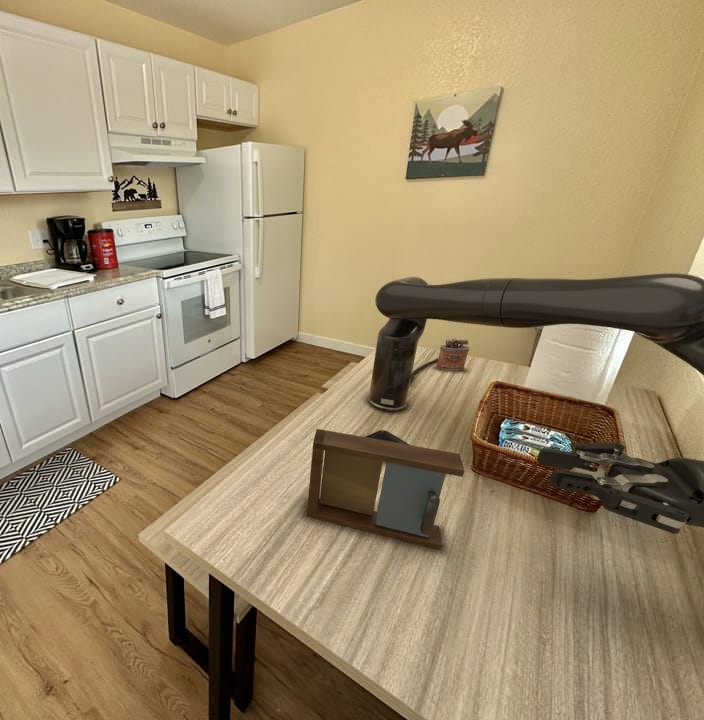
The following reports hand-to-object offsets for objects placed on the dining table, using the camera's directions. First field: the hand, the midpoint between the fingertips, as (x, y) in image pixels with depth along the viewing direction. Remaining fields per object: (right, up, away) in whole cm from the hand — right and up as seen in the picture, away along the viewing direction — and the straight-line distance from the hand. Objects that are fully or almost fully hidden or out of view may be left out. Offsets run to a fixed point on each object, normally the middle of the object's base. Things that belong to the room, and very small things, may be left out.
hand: (546, 466), depth 49 cm
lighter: (+30, +10, +72) cm, 78 cm away
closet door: (-12, -15, +13) cm, 23 cm away
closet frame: (-15, -15, +17) cm, 27 cm away
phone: (-4, -7, +33) cm, 34 cm away
